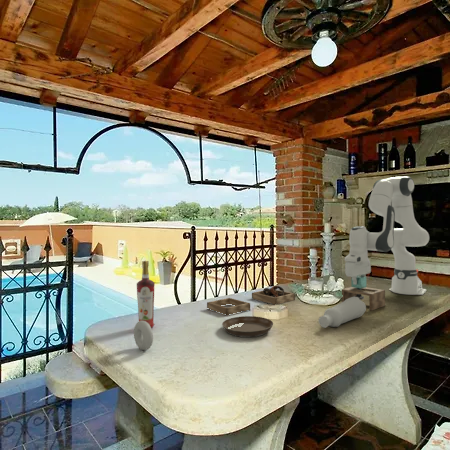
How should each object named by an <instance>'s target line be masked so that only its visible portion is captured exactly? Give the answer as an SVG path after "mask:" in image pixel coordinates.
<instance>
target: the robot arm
mask: <svg viewBox="0 0 450 450" xmlns="http://www.w3.org/2000/svg"><path fill="white" fill-rule="evenodd" d="M414 190H415V182H414V180H413V178H412V177H410V176H395V177H394V176H393V177H388V178H383V179H379V180H376V181H375V182H374V184H373V186H372V191H371V194H370V197H369V200H368V208H369V210H370V211H371V212H373V213H374V214H375V215H378V216H381V217H383V223H382V224H383V225H382V230H381V231H379V232H370V231H368V229H367V228H366V226H364V225H359V226H353V227H351V228H350V231H349V238H348V240H349V242H348V244H349V251H348V252H349V253H348V255H346V256H344V262H345V264H344V273H345V275H346V277H347V278H348V277H349V278H351V277H352V280H353V284H355V285H356V284H358V281H357V279H356V278H357V276H364V277H367V276H366V275H367V274H370V273H371V272H372V267H371V265H372V264H371V261H370V258H369V257H368V255H369V254H368V253H369V252H368V251H374V252H375V251H376V252H384V253H388V252H389V251H391V252H392V253H393V258H394V269H393V270H394V271H393V274H394V275H393V276H392V277H391V287H390V288H389V290H388V291H390V292H393V293H395V294H400V295H407V296H408V295H409V296H410V295H413V296H414V295H418V296H419V295H421V296H423V295H424V294H425V293H426V292H427V289H426V288H423V284H422V283H423V281H422V280H421V279H420V278H419V276H418V273H419V269H416V268H417V266H416V256H415V255H414V254H413V253H411V252H409V251H408V250H407V248H406V247H412V248H413V247H414V248H415V247H417V248H418V247H424V246H426V245H427V244H428V243H429V241H430V234H429V232H428V231H427V230H426V229H425V228H423V227H421V225H419V223H418V222H417V220H416V218H415V213H414V206H413V197H412V193H413V192H414ZM395 222H396V223H398V224H400V225H401V226H402V228H398V227H396V228H395Z"/></svg>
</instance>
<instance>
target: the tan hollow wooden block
mask: <svg viewBox="0 0 450 450" xmlns="http://www.w3.org/2000/svg"><path fill="white" fill-rule="evenodd" d="M357 294H361V295H362V296H368V297H369V300H368V302H369V304H368V305H369V311H374V310H377V309H380V308H382V307H385V306H386V290H385V289H379V288H373V287H366V288H362V289H361V290H357V288H354V287H351V286H348V287H345V288H341V303H342V302H343V301H345V300H346V299H348V298H351V297H354V296H355V295H357ZM342 295H343V297H342Z"/></svg>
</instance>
